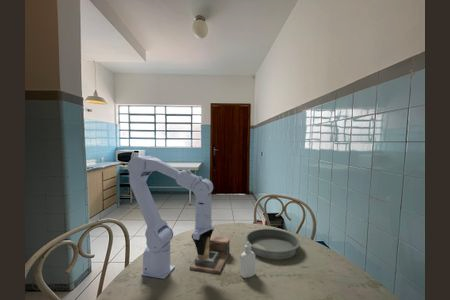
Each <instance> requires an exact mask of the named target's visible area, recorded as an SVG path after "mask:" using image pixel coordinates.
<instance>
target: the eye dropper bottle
mask: <svg viewBox="0 0 450 300" xmlns="http://www.w3.org/2000/svg"><path fill="white" fill-rule="evenodd" d="M239 258H240V259H239V264H240V265H239V274H240V276H241V277H242V278H243V279H246V278H251V277H253V276H255V274H256V254H255V253H254V252H253V251H251V245H249V242H247V241H246V244H245V245H244V251H243V252H241V254H240V257H239Z"/></svg>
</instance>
